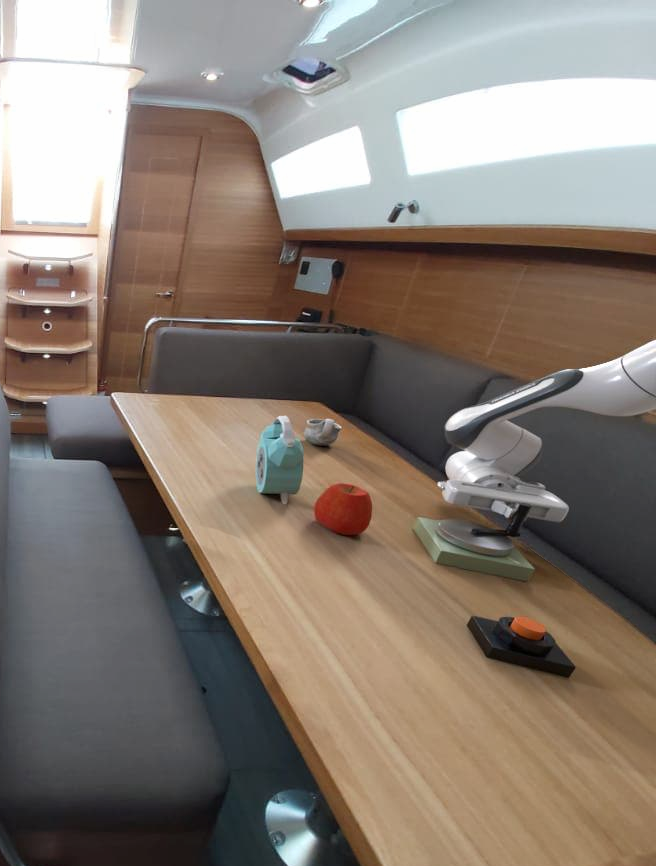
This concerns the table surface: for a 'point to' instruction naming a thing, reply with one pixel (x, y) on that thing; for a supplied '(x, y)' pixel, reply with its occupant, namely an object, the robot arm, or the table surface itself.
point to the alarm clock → (279, 460)
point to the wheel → (483, 533)
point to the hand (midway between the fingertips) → (518, 516)
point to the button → (528, 628)
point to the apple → (344, 509)
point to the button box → (519, 646)
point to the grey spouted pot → (321, 431)
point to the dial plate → (470, 554)
